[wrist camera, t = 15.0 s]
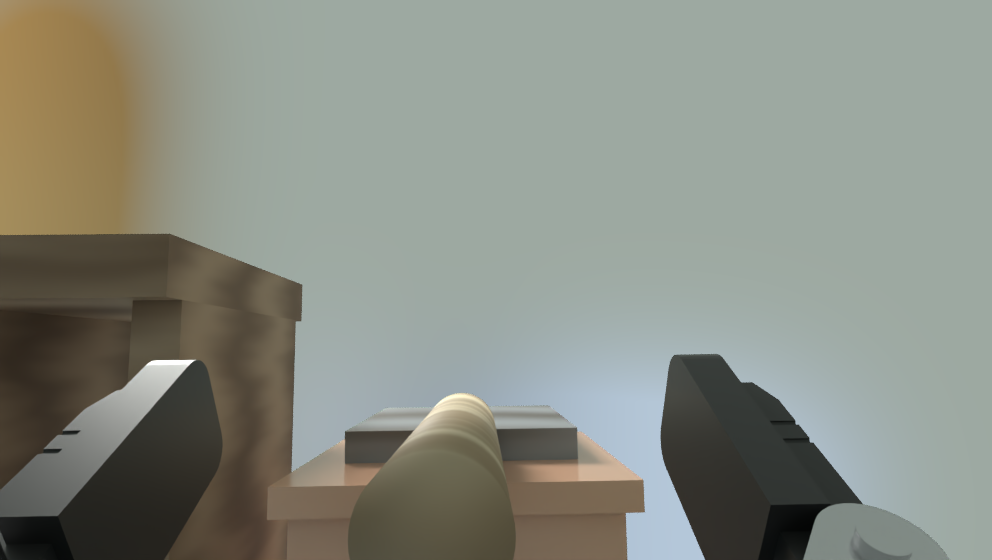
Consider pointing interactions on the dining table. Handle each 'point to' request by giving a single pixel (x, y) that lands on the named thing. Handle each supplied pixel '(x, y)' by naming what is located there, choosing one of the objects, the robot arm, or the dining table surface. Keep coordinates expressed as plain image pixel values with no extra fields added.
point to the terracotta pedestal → (532, 490)
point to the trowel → (446, 477)
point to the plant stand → (148, 337)
